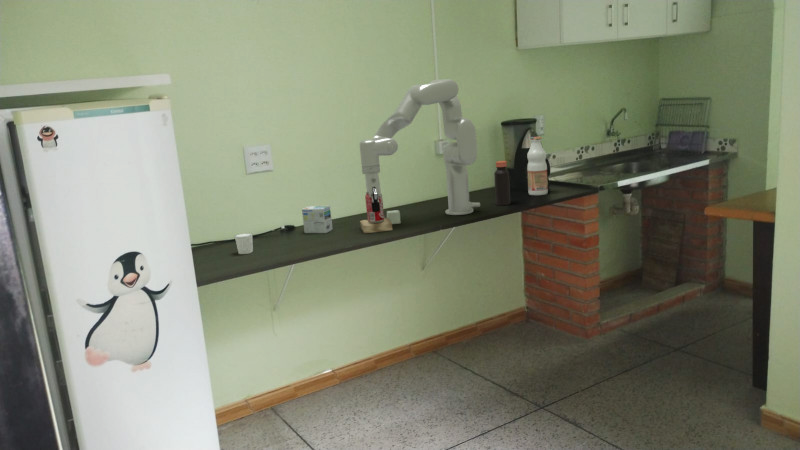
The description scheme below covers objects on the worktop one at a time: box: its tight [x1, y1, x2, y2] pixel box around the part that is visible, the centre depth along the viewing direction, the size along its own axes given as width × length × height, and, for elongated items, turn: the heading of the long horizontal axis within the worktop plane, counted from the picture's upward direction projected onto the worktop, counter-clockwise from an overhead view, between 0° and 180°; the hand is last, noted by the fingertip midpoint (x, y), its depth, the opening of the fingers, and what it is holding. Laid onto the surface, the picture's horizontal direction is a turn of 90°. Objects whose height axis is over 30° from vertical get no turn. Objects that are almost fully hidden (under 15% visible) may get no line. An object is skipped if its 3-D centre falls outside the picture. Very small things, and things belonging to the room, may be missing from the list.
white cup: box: [234, 232, 254, 255], centre depth 268 cm, size 7×7×7 cm
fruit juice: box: [526, 136, 549, 196], centre depth 335 cm, size 9×9×28 cm
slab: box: [359, 217, 393, 234], centre depth 291 cm, size 12×12×3 cm
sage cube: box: [386, 209, 402, 225], centre depth 299 cm, size 5×5×5 cm
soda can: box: [364, 191, 385, 223], centre depth 288 cm, size 7×7×13 cm
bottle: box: [494, 160, 511, 207], centre depth 318 cm, size 7×7×20 cm
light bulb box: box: [301, 205, 333, 234], centre depth 294 cm, size 11×7×11 cm, turn 71°
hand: (374, 209), depth 289 cm, fingers open, 9 cm apart
